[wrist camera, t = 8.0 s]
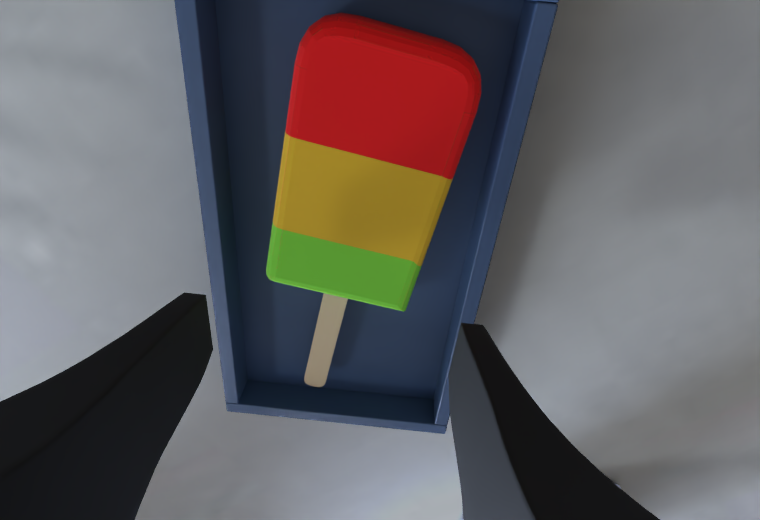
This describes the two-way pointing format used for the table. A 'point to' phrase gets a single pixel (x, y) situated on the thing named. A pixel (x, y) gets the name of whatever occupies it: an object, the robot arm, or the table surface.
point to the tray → (259, 188)
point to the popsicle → (366, 165)
